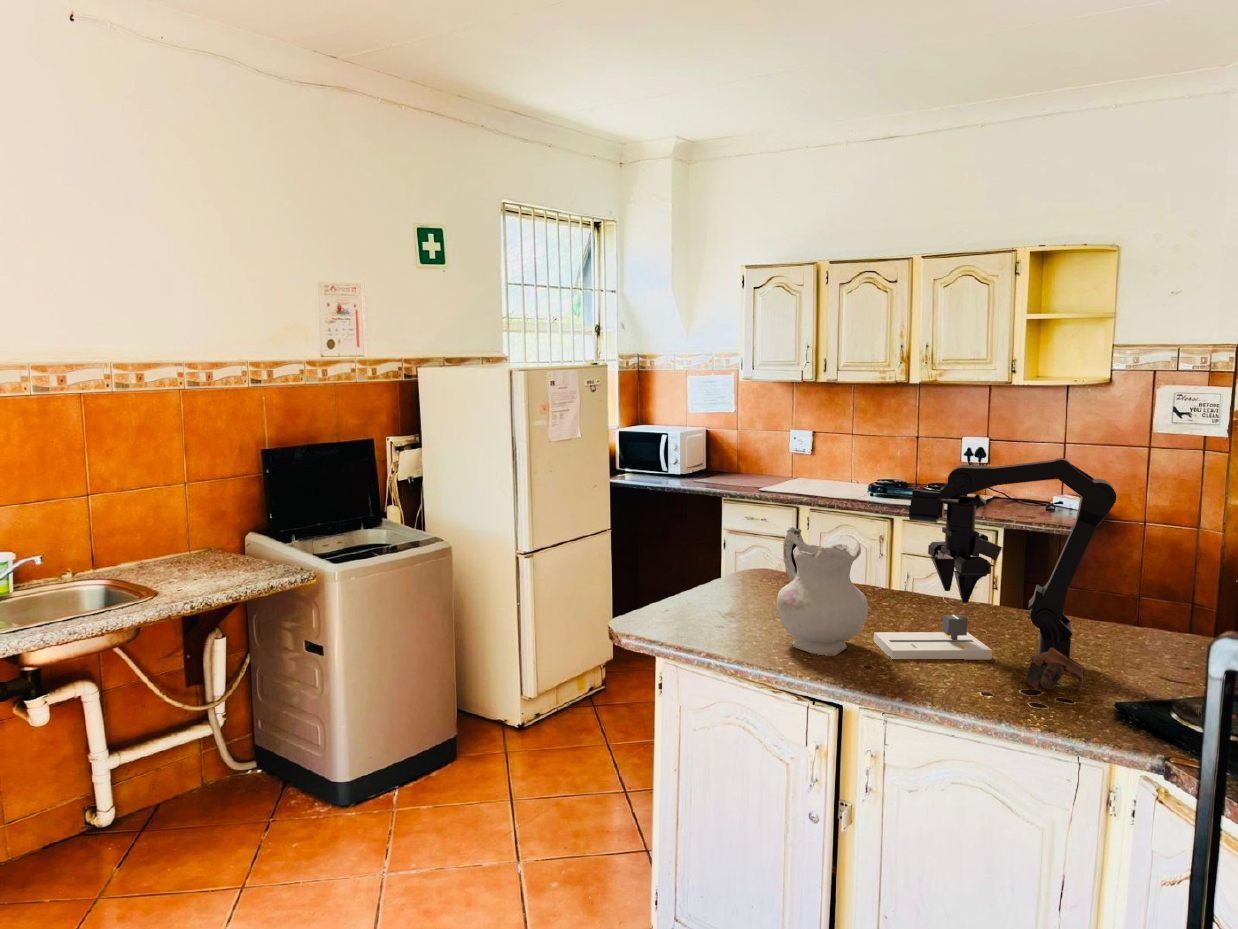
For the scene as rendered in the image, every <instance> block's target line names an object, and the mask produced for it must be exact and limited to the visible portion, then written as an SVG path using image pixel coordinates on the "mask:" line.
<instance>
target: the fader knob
mask: <svg viewBox="0 0 1238 929" xmlns="http://www.w3.org/2000/svg"><path fill="white" fill-rule="evenodd" d="M942 616H943V617H942V630H941V632H944V633H945V634H947V635H948V636H951V639H952V640H957V637H958V635H967V632H968V618H967V617H965V616H964V615H962V614H943V615H942Z"/></svg>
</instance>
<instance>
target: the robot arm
mask: <svg viewBox="0 0 1238 929" xmlns="http://www.w3.org/2000/svg"><path fill="white" fill-rule="evenodd" d="M1050 480H1051V481H1053V480H1058V481H1059V482H1061V483H1063V484H1064V485H1066V486H1067V487H1068V488H1070V489H1071V490H1072V491H1073V492H1074V493H1075V494H1077V495H1079V496H1080V498H1079V502H1078V509H1077V514H1076V519H1075V521H1074V524H1073V526H1072V528H1071V530H1070V532H1069V535H1068V537H1067V539H1066V540H1065V544H1064V546H1063V548H1062V550H1061V553H1060V554H1059V556H1058V557H1059V558H1058V559H1057V561H1056V564H1055V566H1054V569H1053V571H1052V573H1051V576H1050V578H1049V579H1048V581H1047V582H1046V584H1045V585H1044V586H1040V585H1039V584H1036V585H1035V588H1034V593H1033V595H1032V597H1031V598H1029V600H1028V610H1030V611H1029V615H1030V616H1029V617H1030V621H1031V623H1032V624H1033V625H1034V627H1036V628H1037V629H1039V637H1038V653H1037V655H1039V654H1040V653H1043V652H1048V650H1049V649H1050V647H1051V648H1054V649H1056V650H1058V651H1060V652H1061V653H1063V654H1064V655H1066V656H1068V657H1069V658H1071V645H1072V643H1071V642H1072V636H1073V627H1072V620H1070V619H1069V618H1068V617H1067V616H1066V615H1065V614H1064V610H1065V605H1066V600H1067V595H1068V590H1069V589H1070V586H1071V584H1072V581H1073V579H1074V578H1075V575H1076V573H1077V571H1078V568H1079V567H1080V564H1081V562H1082V559H1083V557H1084V556H1085V553H1086V550H1087V548H1088V546H1089V544H1090V541H1091V539H1092V537H1093V535H1094V533H1095V531H1096V529H1097V527H1099V525H1100V524H1101V523H1102V521H1104V519H1105V518H1106V517H1107V516H1108V514H1109V513H1110V511H1111V510H1112V508H1113V507H1114V506H1115V503H1116V501H1117V493H1116V491H1115V489H1114V486H1113V485H1112V484H1111V483H1110V482H1109V481H1107V480H1105V479H1102V478H1094V477H1092V476H1091V475H1089V473H1086V472H1085V471H1084V470H1081V469H1080V468H1079V467H1077V466H1075V465H1074V464H1072V463H1071V461H1069V460H1068V459H1066V458H1064V457H1058V458H1055V459H1050V460H1043V461H1042V460H1041V461H1034V462H1026V463H1016V464H1006V465H998V466H990V465H989V466H987V465H979V464H978V465H977V464H976V465H975V464H961V465H958V466H956V467H954V468H953V469H952V471H951V472H950V473H949V474H948V477H947V484H946V485H945V486H942V487H941V488H939V491H933V490H923V489H918V488H917V489H916V488H914V489H912V492H911V498H910V504H909V508H908V519H909V521H915V522H922V523H923V522H926V523H934V524H936V523H938V521H939V520H940V519H941V520H942V519H944V515H945V504H946V520H945V526H943V527H942V528H941V532H942V533H943V534H944V536H945V537H944V541H932V542H931V543H930V544H929V545H928V550H927V554H928V555H929V556H930V557H929V558H930V560H931V561H932V564H933V565H934V566H933V567H934V568H935V570H936V572H937V575H938V577H939V580H940V583H941V585H942V588H943V590H944V591H945V592H950V591H951V588H952V583H953V578H954V577H955V581H956V585H957V588H958V592H959V596H960V599H961V602H962V603H963V604H968V603H969V601H970V599H971V596H972V594H973V591H974V589H975V587H976V584H977V583H978V581H979V580H981V579H982V578H983V577H987V576H988V575H990V574H992V564H991V562H990V561H989V560H988V559H986V558H984V557H982V556H985V557H988V558H990V559H991V560H993V561H995V562H996V561H998V558H999V555H1000V553H1001V552H1002V549H1003V547H1002V546H1001V545H998V544H996V543H994V542H992V541H989V536H988V535H986V534H984V533H981V532H979V531H977V530H976V529H975V528H976V515H977V513H976V512H977V507H985V506H986V503H987V501H986V500H985V499H984V498H983V497H982V496H981V494H980V493H979V492H981V491H983V490H986V489H987V490H988V489H989V488H993V487H996V486H1004V485H1012V484H1021V483H1023V484H1024V483H1031V482H1039V481H1041V482H1042V481H1050ZM977 492H978V493H977ZM973 493H976V494H975V495H974V496H969V494H973ZM956 495H958V499H956V498H955V499H954V498H953V499H951V498H952V497H954V496H956ZM967 495H968V496H967ZM980 555H982V556H980ZM1037 655H1031V656H1030V659H1031V660H1032V661H1033V660H1034V658H1035V657H1036V656H1037ZM1043 668H1046V663H1044V666H1043ZM1063 668H1064V667H1063ZM1064 670H1066V669H1065V668H1064Z"/></svg>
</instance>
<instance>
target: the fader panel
mask: <svg viewBox="0 0 1238 929" xmlns="http://www.w3.org/2000/svg"><path fill="white" fill-rule="evenodd" d="M873 642H874V643H875V644H876V645H877V646H878V647H879V649H880V650H882V652H884V653H885V655H886V656H888V657H889V656H890V657H891V658H890V657H889V658H890V660H892V659H964V660H992V659H993V658H992V657H993V656H992V655H993V649H991V648H990V647H988V646H987V645H986V644H984V643H983V642H982V641H980V640H979V639H977V637H975V636H973V635H972V634H970V632H968V631H967V635H958V637H957V640H952V639H951V636H948V635H947V634H945V633H944V632H943V631H931V632H930V631H929V632H928V631H926V632H925V631H922V632H920V631H919V632H917V631H915V632H914V631H913V632H912V631H910V632H909V631H907V632H906V631H903V632H901V631H899V632H897V631H895V632H894V631H893V632H886V631H885V632H881V631H880V632H877V631H876V632H873Z"/></svg>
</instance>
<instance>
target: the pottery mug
mask: <svg viewBox="0 0 1238 929" xmlns="http://www.w3.org/2000/svg"><path fill="white" fill-rule="evenodd" d="M1035 656H1036V657H1035V658H1034V660H1032V661H1031V662H1030V664H1029V667H1028V669H1027V670H1026V674H1025V678H1024V680H1025V682H1026V683H1027V684H1028V685H1029V686H1030V687H1032V689H1033V688H1034V689H1035V688H1036V689H1035V690H1038V689H1039V685H1041V686H1042V687H1043V688H1044V689H1047V690H1055V687H1057V684H1058V682H1059V681H1061V680H1060V679H1061V678H1062V677H1063V676H1064V671H1065V670H1066V671H1068V672H1070V674H1071V675H1073V676H1074V677H1076V678H1077V679H1078V680H1079V684H1078V686H1077V691H1078V692H1080V691H1082V687H1083V685H1084V675H1083V674H1084V673H1085V672H1086V671H1087V670H1086V668H1085V667H1084V666H1082V665H1081V664H1080V663H1078V662H1077V661H1075V660H1074V659H1072V658H1071V657H1070V658H1069V657H1068V656H1066V655H1064V654H1063V653H1061V652H1060V651H1058V650H1056V649H1054V648H1051V647H1050V649H1049V650H1048V652H1043V653H1040V654H1039V655H1038V654H1037V655H1035ZM1044 663H1046V668H1044V667H1043V666H1044ZM1063 667H1064V668H1065V669H1064V668H1063Z"/></svg>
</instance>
